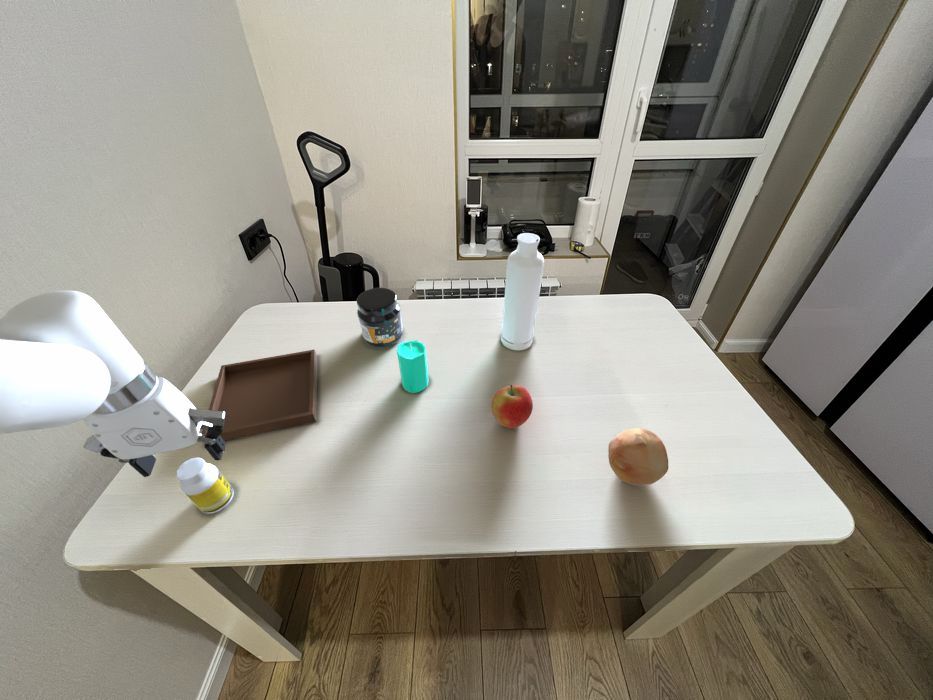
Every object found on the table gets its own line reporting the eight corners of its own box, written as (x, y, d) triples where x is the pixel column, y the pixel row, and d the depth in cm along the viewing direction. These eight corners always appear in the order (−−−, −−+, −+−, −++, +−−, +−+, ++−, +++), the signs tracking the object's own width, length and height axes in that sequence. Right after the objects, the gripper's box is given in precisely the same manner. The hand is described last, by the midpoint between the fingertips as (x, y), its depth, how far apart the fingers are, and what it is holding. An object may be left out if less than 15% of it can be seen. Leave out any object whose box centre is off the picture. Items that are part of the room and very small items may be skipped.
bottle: (500, 329, 101) (508, 229, 82) (531, 330, 101) (545, 230, 82) (501, 349, 95) (510, 246, 76) (533, 350, 95) (550, 247, 76)
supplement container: (360, 349, 95) (350, 310, 87) (366, 324, 103) (358, 286, 95) (402, 348, 95) (396, 310, 87) (405, 323, 103) (400, 285, 95)
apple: (506, 443, 74) (510, 410, 67) (483, 416, 79) (484, 383, 72) (537, 425, 77) (544, 392, 71) (513, 400, 82) (517, 367, 76)
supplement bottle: (241, 494, 66) (216, 463, 60) (211, 520, 63) (182, 491, 56) (223, 479, 68) (197, 448, 62) (193, 504, 65) (163, 473, 58)
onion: (653, 506, 65) (675, 475, 58) (595, 480, 68) (609, 448, 62) (661, 462, 71) (682, 430, 64) (608, 441, 74) (622, 408, 68)
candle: (397, 389, 85) (390, 349, 77) (409, 371, 89) (403, 331, 81) (422, 395, 83) (417, 355, 75) (432, 377, 88) (429, 337, 80)
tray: (206, 445, 74) (200, 437, 72) (226, 373, 89) (221, 365, 87) (316, 421, 78) (312, 413, 76) (317, 357, 93) (314, 349, 91)
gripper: (15, 425, 42) (112, 497, 54) (187, 393, 46) (243, 467, 57) (49, 378, 48) (131, 453, 59) (201, 352, 51) (250, 428, 63)
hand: (186, 460), depth 58 cm, fingers open, 9 cm apart
